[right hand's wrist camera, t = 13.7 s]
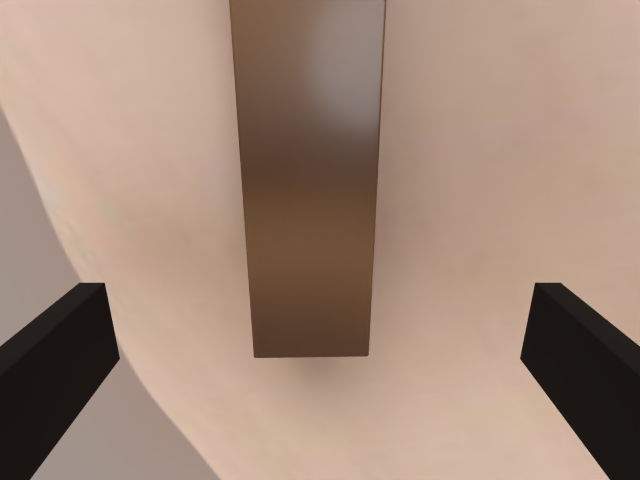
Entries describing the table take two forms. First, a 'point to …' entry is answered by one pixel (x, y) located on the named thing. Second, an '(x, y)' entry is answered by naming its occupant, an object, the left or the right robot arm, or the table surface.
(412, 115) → the table surface
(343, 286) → the bar
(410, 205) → the table surface
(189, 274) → the table surface
